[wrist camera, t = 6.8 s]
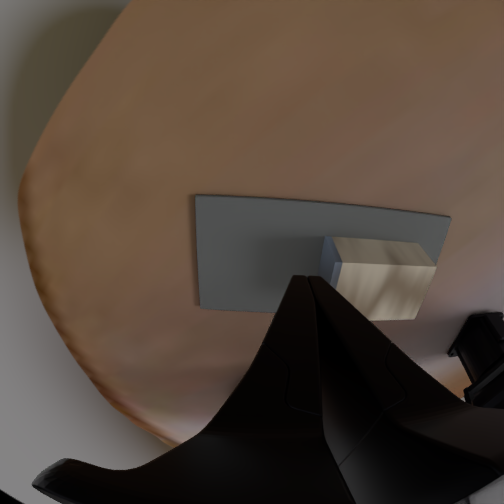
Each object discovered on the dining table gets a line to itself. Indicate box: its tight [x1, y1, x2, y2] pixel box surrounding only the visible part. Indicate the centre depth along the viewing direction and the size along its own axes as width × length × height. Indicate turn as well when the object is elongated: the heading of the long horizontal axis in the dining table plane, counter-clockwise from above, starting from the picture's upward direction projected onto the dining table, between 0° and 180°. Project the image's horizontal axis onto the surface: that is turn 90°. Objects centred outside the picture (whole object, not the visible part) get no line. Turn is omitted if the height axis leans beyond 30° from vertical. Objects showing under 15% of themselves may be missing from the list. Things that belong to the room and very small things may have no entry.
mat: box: [195, 195, 452, 313], centre depth 23 cm, size 10×20×1 cm, turn 87°
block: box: [317, 236, 437, 321], centre depth 22 cm, size 5×4×8 cm
